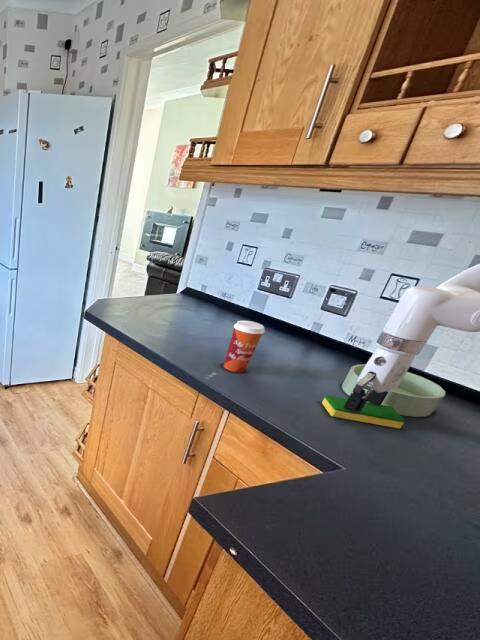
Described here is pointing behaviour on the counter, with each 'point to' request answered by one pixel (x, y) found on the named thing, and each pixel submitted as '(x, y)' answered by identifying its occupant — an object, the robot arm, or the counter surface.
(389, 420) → the dish sponge
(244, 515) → the counter surface
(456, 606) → the counter surface
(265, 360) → the counter surface
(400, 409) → the bowl
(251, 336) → the paper cup
